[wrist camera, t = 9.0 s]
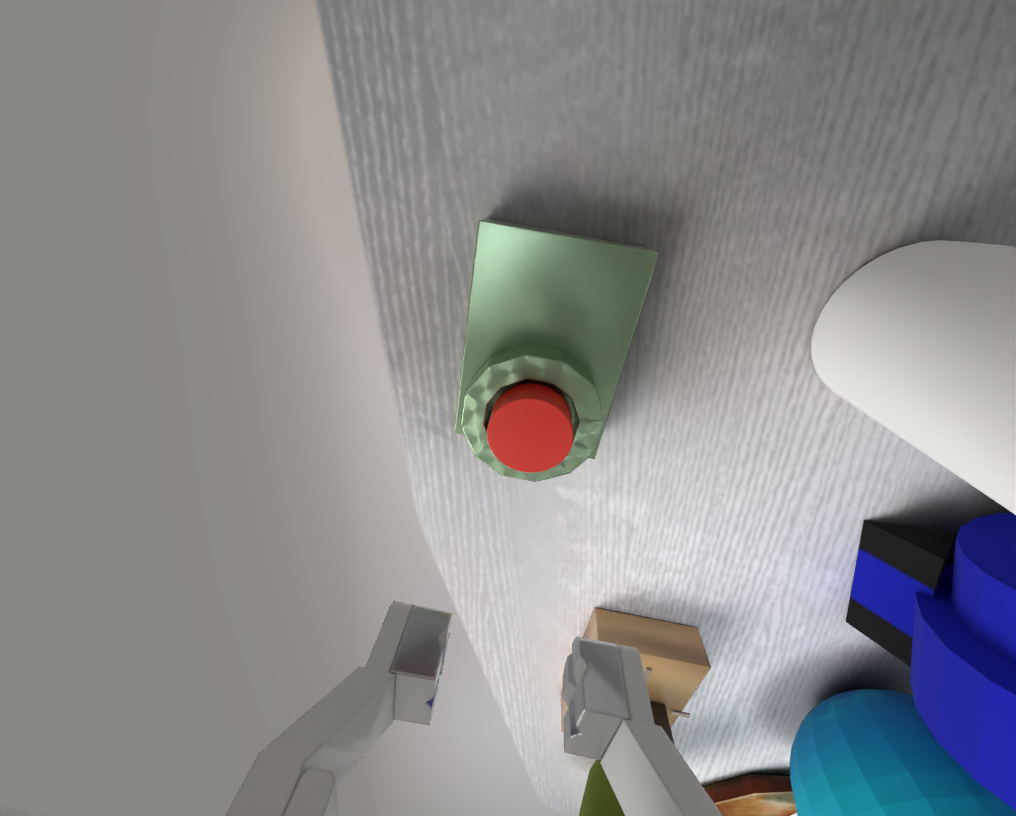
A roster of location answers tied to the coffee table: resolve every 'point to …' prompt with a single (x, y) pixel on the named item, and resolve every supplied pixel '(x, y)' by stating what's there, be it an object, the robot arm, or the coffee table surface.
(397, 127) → the coffee table surface
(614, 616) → the panel
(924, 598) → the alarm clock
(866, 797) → the decorative orb
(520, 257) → the green lamp base
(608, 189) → the coffee table surface
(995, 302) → the bottle
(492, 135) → the coffee table surface
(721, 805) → the wooden boat shaped bowl
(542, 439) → the lamp button
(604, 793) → the apple
